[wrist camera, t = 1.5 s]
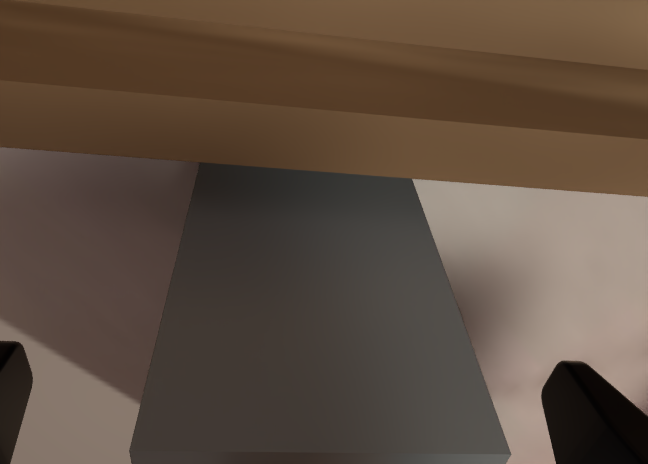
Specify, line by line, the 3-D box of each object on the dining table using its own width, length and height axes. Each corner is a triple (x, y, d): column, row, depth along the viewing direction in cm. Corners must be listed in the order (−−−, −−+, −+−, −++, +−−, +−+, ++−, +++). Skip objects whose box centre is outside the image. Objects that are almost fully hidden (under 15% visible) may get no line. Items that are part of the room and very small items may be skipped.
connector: (362, 256, 14) (438, 675, 7) (213, 248, 14) (141, 689, 7) (391, 123, 12) (548, 555, 5) (213, 107, 12) (102, 561, 4)
